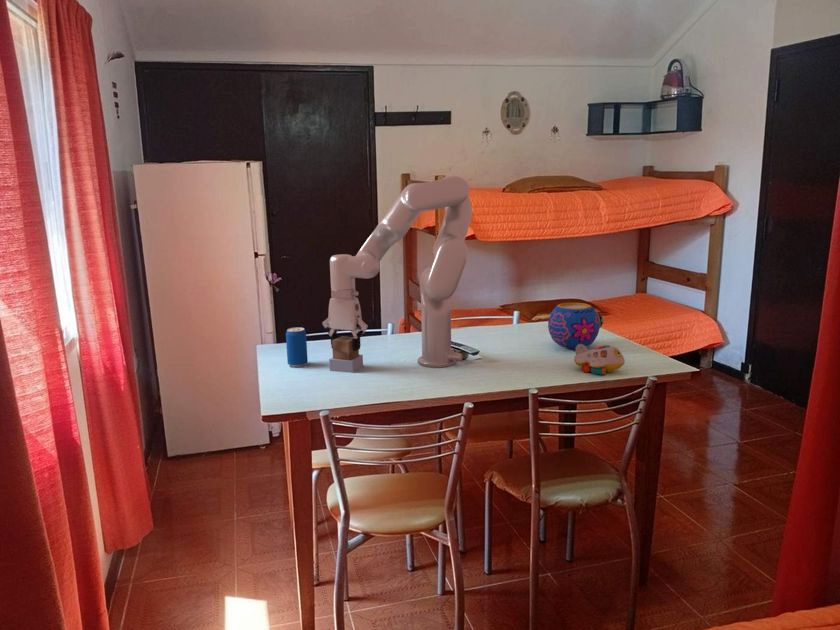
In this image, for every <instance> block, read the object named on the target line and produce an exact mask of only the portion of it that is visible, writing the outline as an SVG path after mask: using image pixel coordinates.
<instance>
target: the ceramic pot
mask: <svg viewBox="0 0 840 630" xmlns="http://www.w3.org/2000/svg"><path fill="white" fill-rule="evenodd" d="M603 324H604V318H603V316H602V315H601V314H600V313H598V312H597V311H596V309H595V308H594V307H593V306H592V305H590V304H587V303H584V302H563V303H560V304H557V305H556V306H555V307H554V308H553V309H552V311H551V313H550V315H549V317H548V324H547V329H548V332H549V335H550V337H551V339H552V341H553V342H554V343H555V344H557V345H558V346H560V347H563V348H566V349H569V350H570V349H571V350H576V346H577V345H578V344H583V345H584V346H585V347H586V348H587V347H588V346H591V345H592V344H593V343H594V342H595V340H596V339H597V338H598V335H599V333H600V329H601V328H602V326H603Z"/></svg>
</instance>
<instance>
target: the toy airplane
mask: <svg viewBox="0 0 840 630" xmlns="http://www.w3.org/2000/svg"><path fill="white" fill-rule="evenodd" d="M573 360H574V364H576V365H577V366H578V367H580V368H581V371H582V373H585V374H588V373H590V372H591V373H592V374H595V375H601V376H603V375H604V376H605V375H606V373H608V374H609V373H613V372H614V371H617V370H618V369H621V367H623V366H624V365H625V361H626V359H625V357H624V354H622V352H621V351H620V350H619V349H618V348H617V347H615V346H612V345H609V344H606V345H599V346H596V347H594V348H592V349H588V348H587V346H586V347H585V346H584V345H583V344H578V345H577V346H576V349H575V355H574V358H573Z"/></svg>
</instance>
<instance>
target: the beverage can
mask: <svg viewBox="0 0 840 630" xmlns="http://www.w3.org/2000/svg"><path fill="white" fill-rule="evenodd" d="M285 339H286V340H285V342H286V357H287V359H286V360H287V365H289V366H290V367H292V368H301V367H304V366H306V364H308V362H309V360H308V345H307V342H308V340H307V332H306V329H305V327H300V326H299V327H298V326H297V327H296V326H295V327H290V328H287V329H286V332H285Z"/></svg>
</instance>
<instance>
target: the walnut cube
mask: <svg viewBox="0 0 840 630" xmlns="http://www.w3.org/2000/svg"><path fill="white" fill-rule="evenodd" d="M353 339H354V336H346V335H341V336H338V338H336V339H334V340H332V346H331V349H332V358H333V359H341V360H351V359H353V358H355V357H357V356H359V355H360V349H359V350H357V351H354V350H353Z"/></svg>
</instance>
